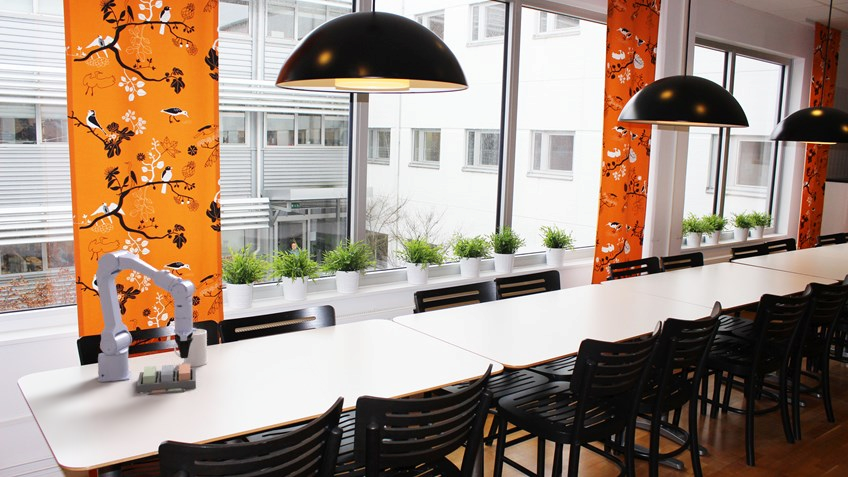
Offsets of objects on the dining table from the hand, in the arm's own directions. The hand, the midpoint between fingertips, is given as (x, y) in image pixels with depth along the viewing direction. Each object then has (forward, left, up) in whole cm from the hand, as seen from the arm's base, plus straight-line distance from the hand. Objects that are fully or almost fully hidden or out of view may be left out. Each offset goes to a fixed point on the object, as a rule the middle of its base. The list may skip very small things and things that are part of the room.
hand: (184, 355), depth 225 cm
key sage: (-11, 0, -8) cm, 14 cm away
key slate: (-5, 0, -8) cm, 10 cm away
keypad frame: (-5, 0, -9) cm, 11 cm away
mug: (+2, +20, -10) cm, 22 cm away
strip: (-5, -8, -9) cm, 14 cm away
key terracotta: (0, 0, -8) cm, 8 cm away
